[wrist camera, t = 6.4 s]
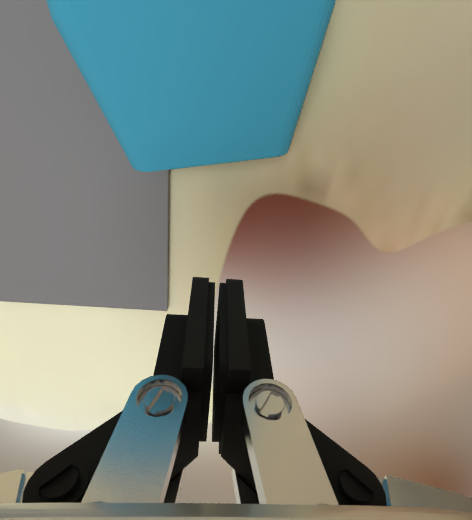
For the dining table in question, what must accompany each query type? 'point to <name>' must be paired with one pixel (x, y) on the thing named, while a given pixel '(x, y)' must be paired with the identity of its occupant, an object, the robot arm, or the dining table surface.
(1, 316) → the dining table surface
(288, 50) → the block
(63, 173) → the gray square mat
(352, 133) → the dining table surface
